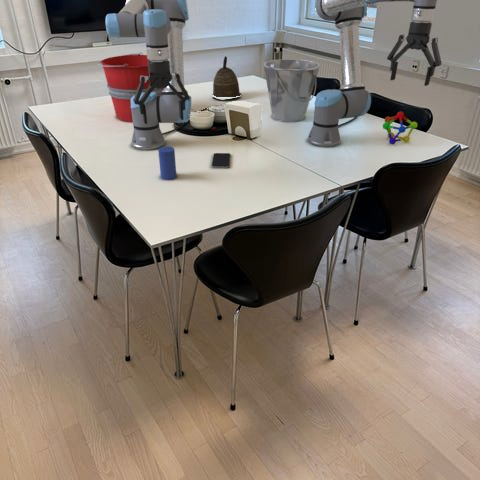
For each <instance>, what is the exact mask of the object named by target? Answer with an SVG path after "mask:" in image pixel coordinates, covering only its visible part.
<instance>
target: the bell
mask: <svg viewBox="0 0 480 480" xmlns="http://www.w3.org/2000/svg"><path fill="white" fill-rule="evenodd" d="M227 63H228V57H227V56H224V58H223V63H222V67H221V68H219V69H218V70H217V71H216V73H215V75H214V78H213V81H212V83H213V84H212V95H214V96H216V97H236V96H240V95H241V96H242V93H241V92H240V83H239V80H238V79H239V78H238V77H237V75H236V73H235V72H234V70H232V69H231V68H230V67H227Z"/></svg>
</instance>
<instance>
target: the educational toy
mask: <svg viewBox="0 0 480 480" xmlns="http://www.w3.org/2000/svg"><path fill="white" fill-rule="evenodd" d="M397 119H399V124H400V125H399V127H398V126H393V125H391V124H392V123H394V122H395V121H396V120H397ZM403 120H404V121H405V122H407V123H408V124H409V125H407V126H404V123H403ZM417 127H418V122H417V121H411V120H410V119H409V118H408V117H406V116H405V113H404V112H403V111H401V110H400V111H398V112H397V114H396V115H394V116H391V117H390V116H386V117H385V118H384V122H383V123H382V129H383V130H386V132H387V138H388V142H389V145H395V144H396V143H397V142H402V141H403V142H404V143H409V142H410V140H411V138H410V136H411V134H412V132H413V131H414V130H415V129H417ZM392 129H393V130H397V131H398V132H396V134H395V133H394V132H392ZM408 129H409V131H408V133H407V134H406V135H404V136H401V134H403V133H405V132H406V130H408ZM399 135H400V136H399Z"/></svg>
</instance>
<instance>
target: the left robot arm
mask: <svg viewBox="0 0 480 480" xmlns="http://www.w3.org/2000/svg"><path fill="white" fill-rule="evenodd" d="M189 20H190V18H189V9H188V3H187V0H126V1H125V4H124V6H123V8H122V9H120V11H119V12H118V13H115V12H113V13H107V14H106V16H105V29H106V33H107V35H108V36H109V37H110V38H119V39H120V38H145V47H146V49H145V50H146V55H147V59H148V60H149V61H148V70H149V75H148V76H143V75H141V76H140V83H139V86H138V89H137V92H136V94H135V95H134V96H133V97H132V98H131V111H132V118H133V122H132V125H133V132H132V135H131V142H130V143H131V147H132V148H134V149H135V150H141V151H151V150H153V151H154V150H158V149H159V148H161V147H165V144H166V140H165V137H164V135H167V134H170V133H173V132H176V131H177V130H179V129H181V128H182V127H183V126H184V125H185V124H187V123H188V122H189V121H190V119H189V118H190V116H191V111H192V96H191V95H189V91H188V90H187V89H186V88H185V71H184V69H185V68H184V45H183V41H184V40H183V29H184V27H185V26H186V22H188V21H189ZM147 80H149V81H150V82H151V83H150V85H149V87H148V88H147V90H146V91H145V92H143V93H142V90H143V88H144V84H145V83H146V82H147ZM155 88H157V89H159V88H164V89H163V90H162V96H157V94H156V93H155V92H152V91H153V90H154V89H155ZM204 108H205V109H204ZM204 108H202V109H203V110H202V109H200V110H201V112H203V111H206V110H208V109H207V108H208V107H207V108H206V107H204ZM184 122H185V123H184ZM160 124H180V125H181V124H182V125H181V126H180V125H179V126H180V127H179V126H177V127H178V128H177V127H175V128H173V129H171V130H168V131H165V132H162V130H161V127H160Z"/></svg>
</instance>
